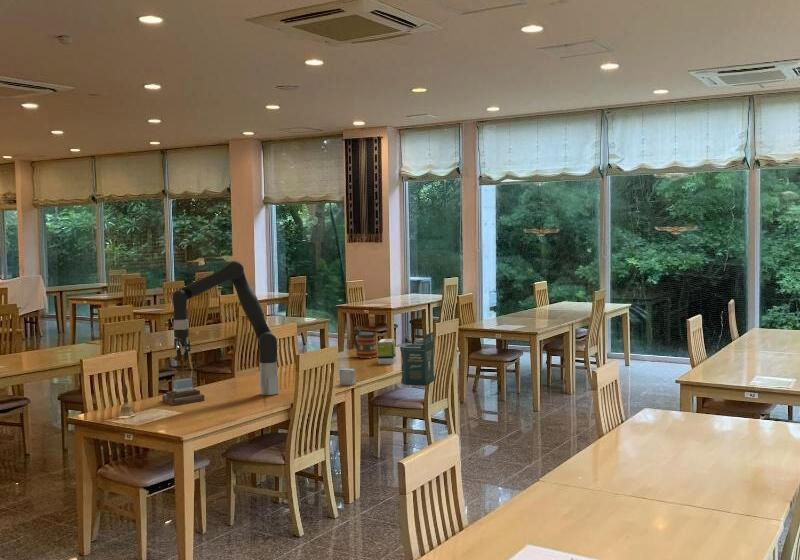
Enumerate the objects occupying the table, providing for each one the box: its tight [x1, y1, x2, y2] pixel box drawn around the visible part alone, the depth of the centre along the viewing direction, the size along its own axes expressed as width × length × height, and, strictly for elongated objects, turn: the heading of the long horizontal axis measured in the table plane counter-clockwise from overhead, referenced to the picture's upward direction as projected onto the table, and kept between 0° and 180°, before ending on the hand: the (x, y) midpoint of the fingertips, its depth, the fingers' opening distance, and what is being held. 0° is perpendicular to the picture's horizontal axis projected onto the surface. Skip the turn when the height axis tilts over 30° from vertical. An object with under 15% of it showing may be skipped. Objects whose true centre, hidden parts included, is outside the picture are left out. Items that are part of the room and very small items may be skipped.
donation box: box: [399, 331, 436, 387], centre depth 450 cm, size 16×16×28 cm
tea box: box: [376, 338, 397, 365], centre depth 525 cm, size 15×10×15 cm, turn 172°
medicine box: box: [339, 368, 356, 386], centre depth 451 cm, size 8×4×9 cm, turn 71°
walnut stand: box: [162, 388, 205, 406], centre depth 418 cm, size 16×16×5 cm
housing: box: [172, 377, 194, 394], centre depth 417 cm, size 9×4×8 cm, turn 130°
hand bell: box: [118, 383, 135, 416], centre depth 383 cm, size 8×8×16 cm
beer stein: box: [352, 327, 378, 359], centre depth 551 cm, size 19×15×20 cm
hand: (182, 358), depth 417 cm, fingers open, 8 cm apart
